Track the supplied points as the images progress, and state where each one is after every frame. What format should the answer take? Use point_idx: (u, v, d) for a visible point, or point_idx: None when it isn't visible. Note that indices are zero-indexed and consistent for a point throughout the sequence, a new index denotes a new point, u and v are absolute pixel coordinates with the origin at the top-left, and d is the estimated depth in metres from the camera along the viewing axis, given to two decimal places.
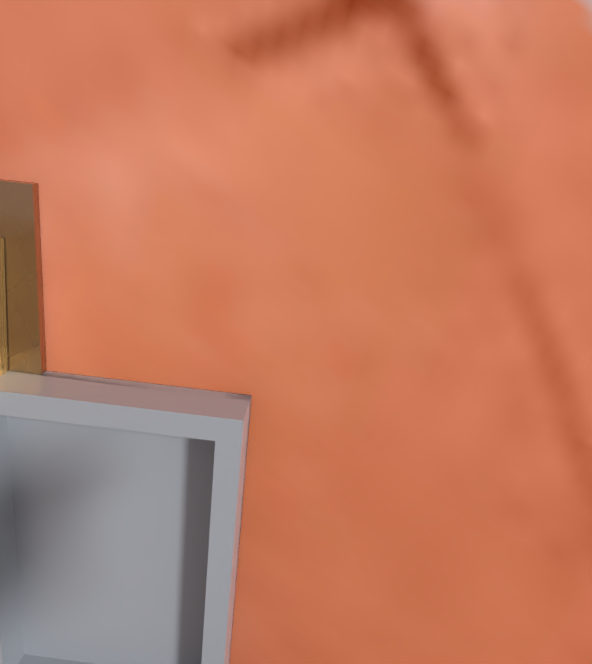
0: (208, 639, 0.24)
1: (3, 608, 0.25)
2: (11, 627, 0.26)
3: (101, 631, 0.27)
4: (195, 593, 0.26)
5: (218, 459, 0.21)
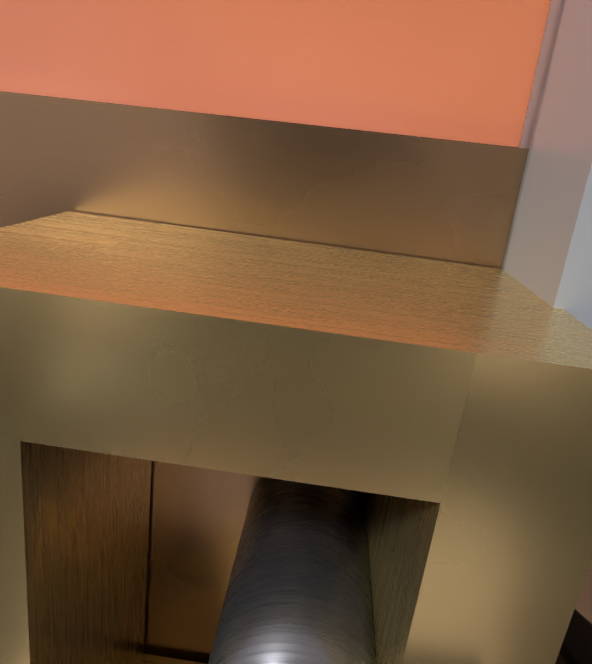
0: None
1: None
2: None
3: None
4: None
5: None
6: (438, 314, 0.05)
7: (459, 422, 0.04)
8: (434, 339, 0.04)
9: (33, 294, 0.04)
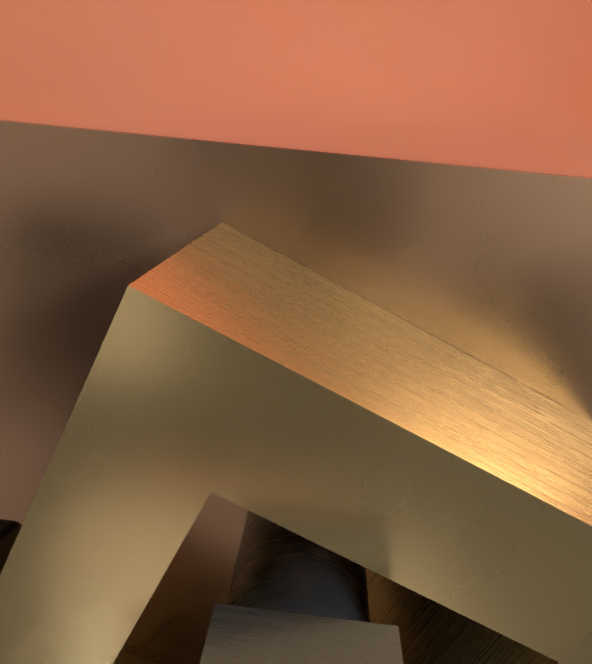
0: None
1: None
2: None
3: None
4: None
5: None
6: None
7: None
8: None
9: (293, 373, 0.04)
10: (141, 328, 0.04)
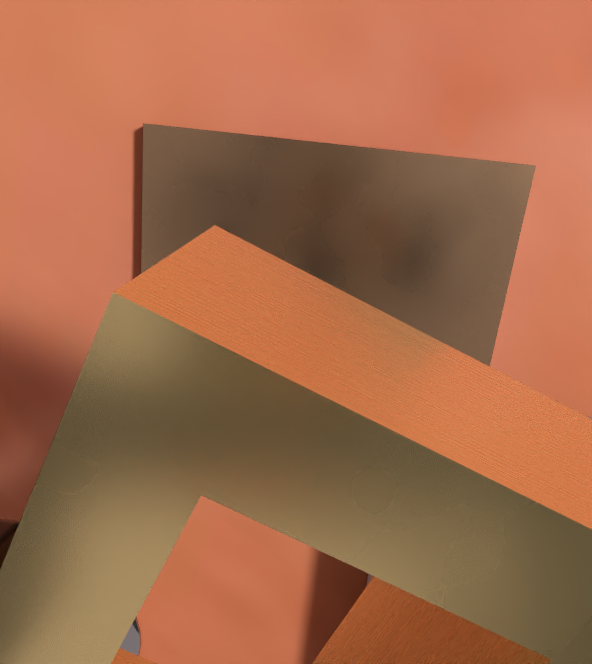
0: None
1: None
2: None
3: None
4: None
5: None
6: (585, 484, 0.05)
7: None
8: None
9: (279, 376, 0.04)
10: (127, 334, 0.04)
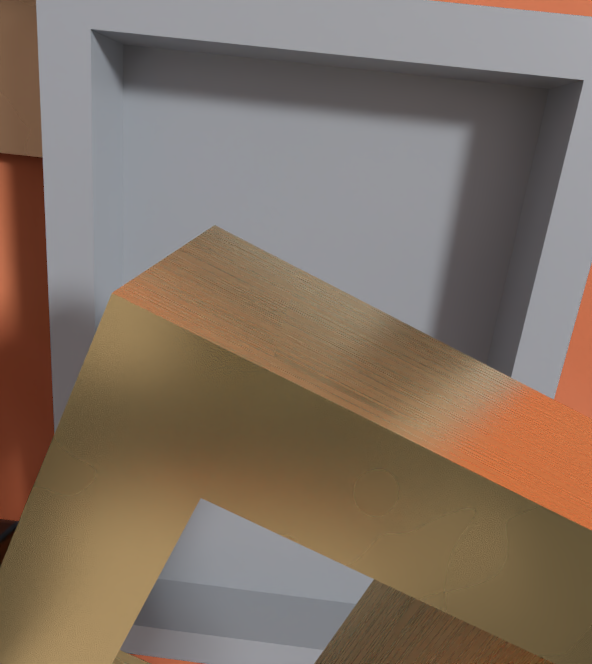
0: None
1: None
2: None
3: (258, 531, 0.16)
4: None
5: (582, 126, 0.10)
6: (588, 487, 0.05)
7: None
8: None
9: (280, 378, 0.04)
10: (126, 335, 0.04)
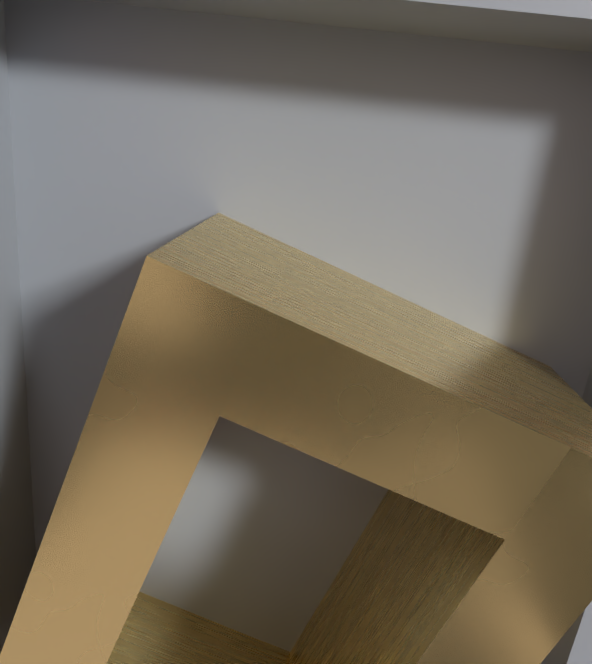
0: None
1: None
2: None
3: None
4: None
5: None
6: (530, 404, 0.06)
7: (539, 489, 0.06)
8: (541, 428, 0.06)
9: (276, 317, 0.05)
10: (158, 288, 0.05)
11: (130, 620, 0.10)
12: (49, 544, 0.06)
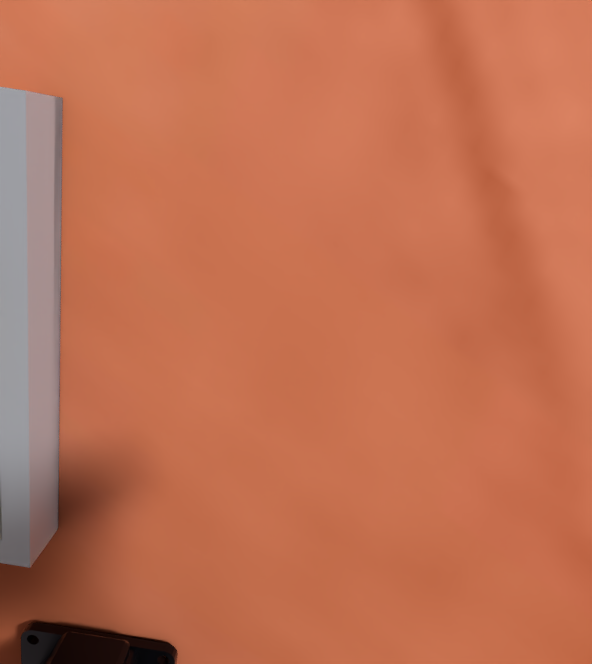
0: (6, 433, 0.19)
1: None
2: None
3: None
4: None
5: None
6: None
7: None
8: None
9: None
10: None
11: None
12: None
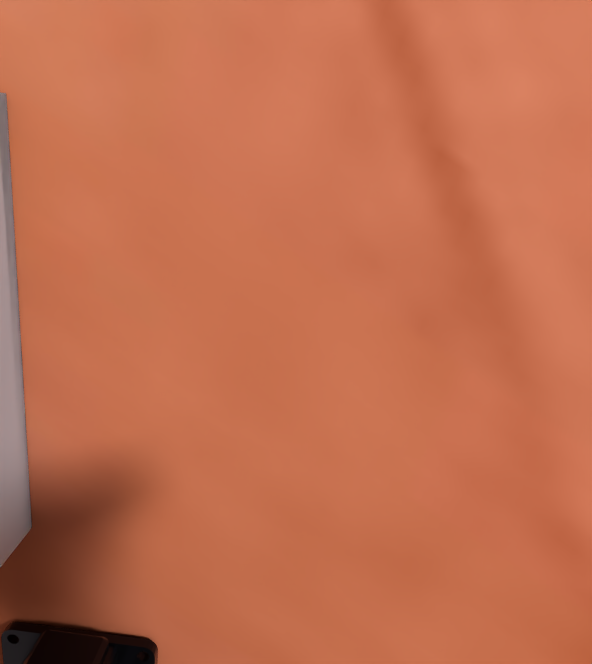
0: None
1: None
2: None
3: None
4: None
5: None
6: None
7: None
8: None
9: None
10: None
11: None
12: None
